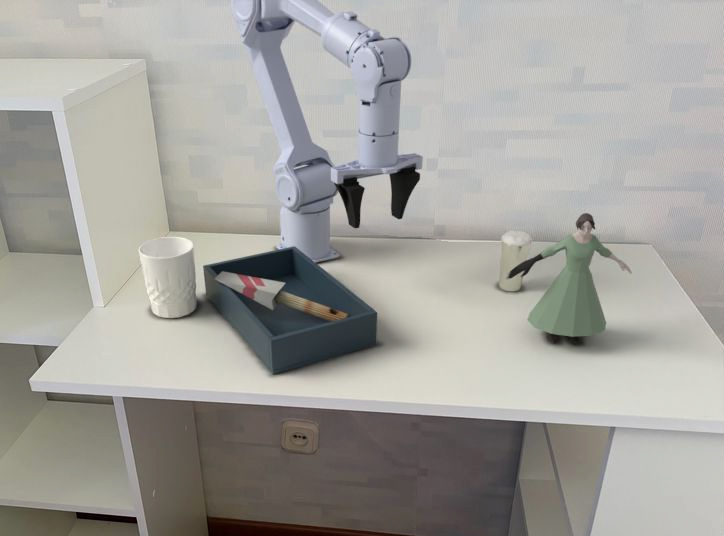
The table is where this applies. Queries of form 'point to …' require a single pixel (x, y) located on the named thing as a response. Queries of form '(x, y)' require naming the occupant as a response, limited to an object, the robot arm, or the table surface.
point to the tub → (292, 311)
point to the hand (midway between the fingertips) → (375, 221)
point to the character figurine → (571, 287)
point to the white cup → (169, 275)
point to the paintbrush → (275, 295)
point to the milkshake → (513, 257)
